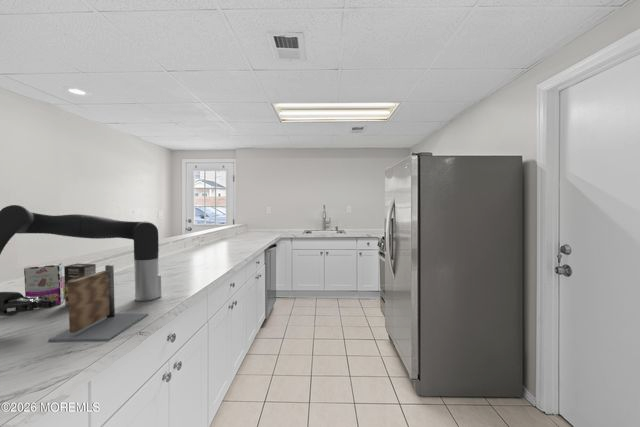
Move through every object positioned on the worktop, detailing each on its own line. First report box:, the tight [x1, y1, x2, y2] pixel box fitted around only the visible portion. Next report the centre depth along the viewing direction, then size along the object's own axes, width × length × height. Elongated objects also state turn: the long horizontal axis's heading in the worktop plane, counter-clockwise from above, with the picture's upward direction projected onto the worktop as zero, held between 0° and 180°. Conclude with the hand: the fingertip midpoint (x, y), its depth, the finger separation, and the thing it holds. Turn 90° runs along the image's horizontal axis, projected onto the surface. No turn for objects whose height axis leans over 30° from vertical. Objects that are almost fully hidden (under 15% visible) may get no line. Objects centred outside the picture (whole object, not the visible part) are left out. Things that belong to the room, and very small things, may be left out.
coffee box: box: [63, 263, 97, 306], centre depth 131 cm, size 9×6×16 cm
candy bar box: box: [23, 263, 65, 306], centre depth 130 cm, size 11×5×16 cm, turn 117°
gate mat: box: [47, 313, 149, 342], centre depth 106 cm, size 22×18×1 cm
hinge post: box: [104, 264, 116, 318], centre depth 114 cm, size 2×2×19 cm
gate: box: [67, 270, 110, 333], centre depth 104 cm, size 16×2×15 cm, turn 0°
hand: (53, 303), depth 103 cm, fingers closed
